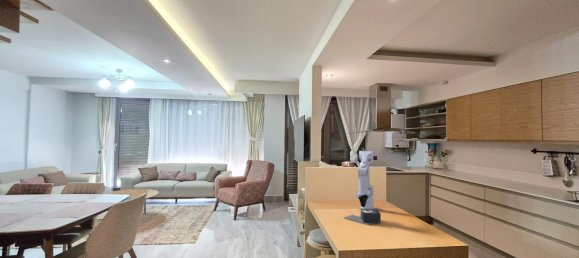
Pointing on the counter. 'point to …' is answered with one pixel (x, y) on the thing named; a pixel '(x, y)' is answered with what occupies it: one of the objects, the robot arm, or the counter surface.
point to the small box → (370, 215)
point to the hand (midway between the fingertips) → (363, 206)
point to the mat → (356, 219)
